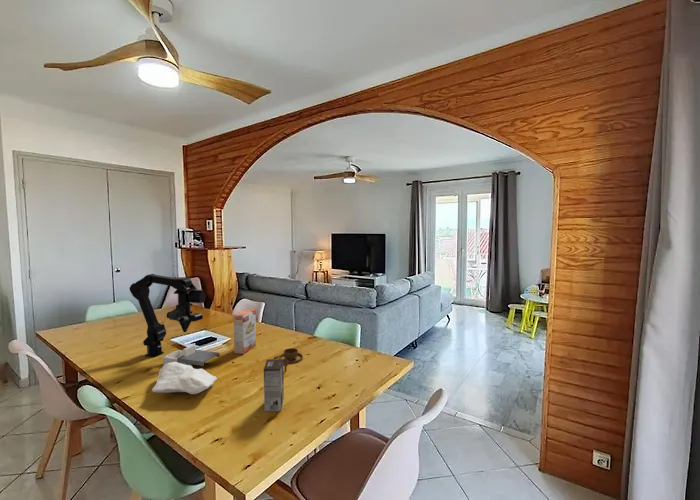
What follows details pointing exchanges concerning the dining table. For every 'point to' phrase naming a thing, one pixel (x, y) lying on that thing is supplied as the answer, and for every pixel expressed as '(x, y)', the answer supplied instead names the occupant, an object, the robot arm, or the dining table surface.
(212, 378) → the crumpled cloth
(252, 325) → the cracker box
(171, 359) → the tray
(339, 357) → the dining table surface
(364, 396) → the dining table surface
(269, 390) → the coffee box
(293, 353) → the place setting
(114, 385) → the dining table surface
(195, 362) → the lid
